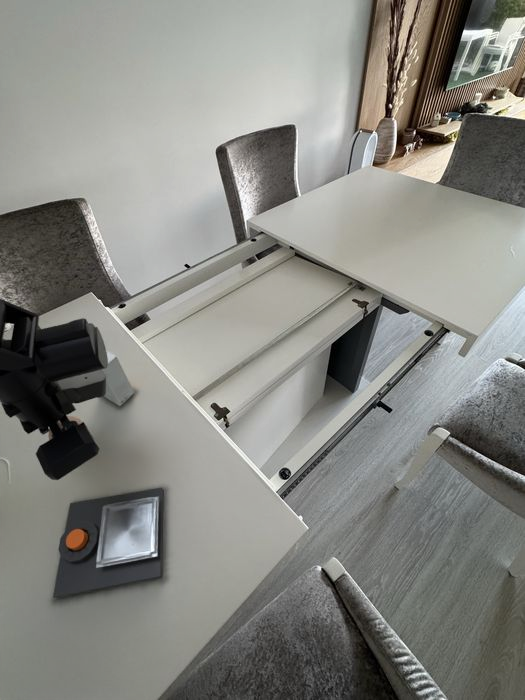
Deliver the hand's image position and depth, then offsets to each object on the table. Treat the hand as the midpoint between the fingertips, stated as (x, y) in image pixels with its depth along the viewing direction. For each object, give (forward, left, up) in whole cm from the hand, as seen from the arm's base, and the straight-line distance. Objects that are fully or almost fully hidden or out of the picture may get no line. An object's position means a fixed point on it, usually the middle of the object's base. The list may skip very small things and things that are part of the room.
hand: (74, 441), depth 54 cm
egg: (0, 0, -2) cm, 2 cm away
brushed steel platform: (+11, -9, -9) cm, 16 cm away
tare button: (+3, -12, -9) cm, 15 cm away
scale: (+8, -10, -12) cm, 17 cm away
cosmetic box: (-4, +16, -12) cm, 20 cm away
